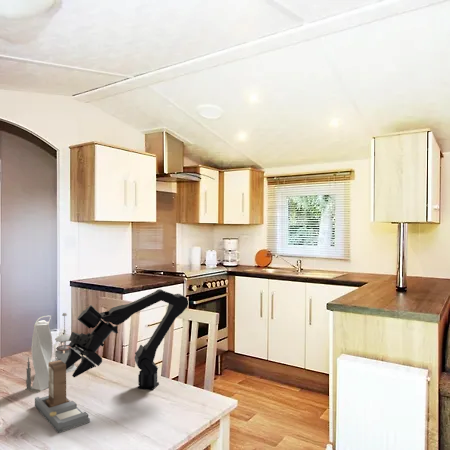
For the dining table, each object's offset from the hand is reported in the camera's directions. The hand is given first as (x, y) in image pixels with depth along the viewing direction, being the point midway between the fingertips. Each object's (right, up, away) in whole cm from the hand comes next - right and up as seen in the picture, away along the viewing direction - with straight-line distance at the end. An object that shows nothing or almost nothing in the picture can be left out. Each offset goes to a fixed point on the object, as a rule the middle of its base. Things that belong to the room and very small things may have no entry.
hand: (68, 372), depth 140 cm
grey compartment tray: (+1, -11, -7) cm, 13 cm away
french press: (-16, -11, +35) cm, 40 cm away
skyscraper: (-17, -12, +15) cm, 25 cm away
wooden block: (-3, -10, -3) cm, 11 cm away
